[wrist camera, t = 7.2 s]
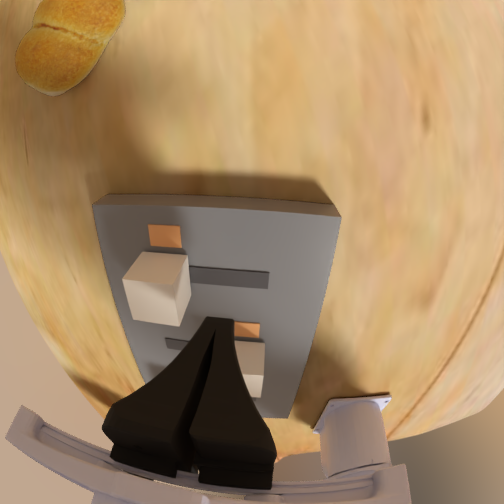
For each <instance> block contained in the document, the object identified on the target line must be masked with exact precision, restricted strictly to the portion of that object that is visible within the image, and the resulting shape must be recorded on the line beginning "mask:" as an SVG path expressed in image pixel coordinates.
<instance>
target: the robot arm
mask: <svg viewBox="0 0 504 504" xmlns="http://www.w3.org/2000/svg"><path fill="white" fill-rule="evenodd" d="M391 399H392V397H391V395H383V396H373V397H360V398H344V399H331V400H329V402H328V404H327V405H326V407H325V409H324V411H323V413H322V415H321V416H320V418H319V420H318V422H317V424H316V425H315V427H314V429H313V433H315V434H316V433H320V446H321V464H322V470H323V473H324V474H325V476H326V477H327V478H326V479H323V480H319V481H301V482H300V481H296V482H275V481H274V482H273V481H272V475H273V469H274V467H273V466H274V462H275V459H276V457H277V451H276V447H275V443H274V441H273V438H272V435H271V433H270V430H269V428H268V427H267V425H266V423H265V422H264V420H263V419H262V417H261V415H260V413H259V412H258V410H257V408H256V406H255V404H254V402H253V400H252V398H251V395H250V393H249V391H248V389H247V386H246V384H245V381H244V378H243V375H242V372H241V369H240V365H239V362H238V358H237V353H236V348H235V321H234V320H233V319H230V318H220V317H210V316H207V317H205V319H204V320H203V322H202V324H201V325H200V327H199V328H198V330H197V331H196V333H195V334H194V335H193V337H192V338H191V339H190V341H189V342H188V343H187V345H186V346H185V347H184V348H183V349H182V351H181V352H180V353H179V354H178V355H177V356H176V357H175V358H174V360H173V361H172V362H171V363H170V364H169V365H168V366H167V367H166V368H164V369H163V370H162V371H161V372H160V373H159V374H158V375H157V376H155V377H154V378H153V379H152V380H150V381H149V382H148V383H147V384H145V385H144V386H142V387H141V388H139V389H138V390H136V391H135V392H133V393H132V394H130V395H129V396H127V397H125V398H123V399H121V400H119V401H118V402H116V403H114V404H113V405H112V406H111V408H110V410H109V411H108V413H107V415H106V418H105V420H104V423H103V425H102V430H103V432H104V433H105V435H106V436H107V437H108V438H109V439H110V440H111V441H112V442H113V443H114V445H113V448H112V451H109V450H106V449H103V448H101V447H98V446H96V445H93V444H91V443H88V442H86V441H83V440H81V439H79V438H77V437H74V436H72V435H70V434H68V433H66V432H64V431H62V430H59V429H58V428H56V427H53V426H52V425H50V424H48V423H46V422H44V420H43V419H42V418H41V417H40V416H39V415H38V414H36V413H35V412H33V411H31V410H30V409H28V408H26V407H24V406H21V407H20V409H19V411H18V413H17V415H16V416H15V419H14V421H13V422H12V425H11V426H10V428H9V431H8V433H7V435H6V437H5V438H6V439H7V440H8V441H9V442H10V443H12V444H13V445H14V446H16V447H17V448H18V449H19V450H21V451H22V452H23V453H25V454H26V455H27V456H29V457H30V458H32V459H33V460H35V461H36V462H38V463H40V464H41V465H43V466H45V467H46V468H48V469H50V470H51V471H53V472H55V473H57V474H58V475H60V476H62V477H64V478H66V479H67V480H70V481H71V482H73V483H75V484H77V485H79V486H81V487H83V488H86V489H87V490H90V491H92V492H94V496H93V499H92V503H91V504H412V503H411V496H410V489H409V482H408V476H407V470H406V465H405V464H401V465H396V466H392V465H391V461H390V455H389V449H388V444H387V438H386V433H385V428H384V423H383V419H382V414H381V411H382V410H383V409H384V408H385V406H386V405H387V404H388V403H389V401H390V400H391ZM123 470H124V471H123ZM198 470H199V474H198ZM125 471H127V472H130V473H133V474H136V475H140V476H143V477H147V478H150V479H154V480H158V481H162V482H166V483H170V484H174V485H179V486H184V487H188V488H194V489H200V490H206V491H212V492H220V493H228V494H238V495H246V496H245V497H244V500H242V499H234V498H228V497H221V496H216V495H210V494H205V493H200V492H196V491H192V490H189V489H184V488H180V487H176V486H170V485H167V484H163V483H159V482H155V481H151V480H148V479H144V478H141V477H138V476H134V475H131V474H128V473H127V472H125Z"/></svg>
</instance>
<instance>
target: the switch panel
mask: <svg viewBox="0 0 504 504" xmlns="http://www.w3.org/2000/svg"><path fill="white" fill-rule="evenodd" d="M92 207H93V213H94V218H95V224H96V229H97V234H98V238H99V243H100V247H101V252H102V256H103V260H104V264H105V268H106V272H107V276H108V279H109V283H110V287H111V290H112V293H113V297H114V300H115V303H116V307H117V310H118V313H119V316H120V319H121V322H122V325H123V328H124V331H125V334H126V336H127V339H128V342H129V345H130V347H131V350H132V352H133V355H134V358H135V360H136V363H137V365H138V368H139V370H140V372H141V375H142V377H143V379H144V382H145V384H147V383H148V382H149V381H150V380H152V379H153V378H154V377H155V376H157V375H158V374H159V373H160V372H161V371H162V370H163V369H164V368H166V367H167V366H168V365H169V364H170V363H171V362H172V361H173V360H174V358H175V357H176V356H177V355H178V354H179V353H180V352H181V351H182V349H183V348H184V347H185V346H186V345H187V343H188V342H189V341H190V339H191V338H192V337H193V335H194V334H195V333H196V331H197V330H198V328H199V327H200V325H201V324H202V322H203V320H204V319H205V317H207V316H210V317H220V318H230V319H233V320H234V321H235V341H246V342H259V343H265V358H264V377H263V384H262V391H261V398H259V397H251V398H252V400H253V402H254V404H255V406H256V408H257V410H258V412H259V413H260V415H261V417H263V418H288V417H289V414H290V411H291V408H292V405H293V403H294V400H295V397H296V394H297V391H298V388H299V385H300V381H301V378H302V375H303V372H304V369H305V366H306V362H307V359H308V356H309V352H310V349H311V345H312V342H313V338H314V335H315V331H316V327H317V324H318V320H319V316H320V312H321V309H322V305H323V301H324V297H325V293H326V288H327V284H328V280H329V276H330V271H331V267H332V262H333V258H334V253H335V248H336V243H337V238H338V233H339V228H340V223H341V216H340V214H339V212H338V210H337V208H336V207H335V205H332V204H322V203H311V202H300V201H289V200H276V199H262V198H246V197H228V196H205V195H172V194H107V195H106V196H104V197H103V198H101V199H100V200H98V201H97V202H95V203H94V204H92ZM142 252H154V253H167V254H180V255H188V264H189V275H190V286H191V297H190V300H189V302H188V305H187V308H186V310H185V313H184V316H183V318H182V321H181V324H180V327H179V326H171V325H164V324H158V323H151V322H145V321H139V320H133V317H132V314H131V311H130V307H129V304H128V300H127V296H126V293H125V289H124V285H123V281H122V278H123V277H124V276H125V274H126V273H127V271H128V270H129V269H130V267H131V266H132V265H133V263H134V262H135V261H136V259H137V258H138V257H139V255H140V254H141V253H142Z"/></svg>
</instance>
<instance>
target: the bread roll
mask: <svg viewBox="0 0 504 504" xmlns="http://www.w3.org/2000/svg"><path fill="white" fill-rule="evenodd" d="M125 12H126V10H125V2H124V0H43V1H42V2H41V3H40V4H39V6H38V8H37V10H36V12H35V15H34V19H33V26H32V29H31V30H30V31H29V32H28V33H27V34H26V35H25V36H24V37H23V39H22V40H21V42H20V44H19V46H18V48H17V51H16V54H15V63H16V70H17V72H18V74H19V75H20V77H21V78H22V79H23V80H24V81H25V84H28V85H29V86H30V87H32V88H34V89H36V90H37V91H39V92H41V93H43V94H46V95H49V96H59V95H61V94H63V93H64V92H66V91H67V90H69V89H71V88H73V87H74V86H76V85H77V84H79V83H80V82H81V81H82V80H83V79H84V78H85V77H86V76H87V75H88V74H89V73H90V72H91V71H92V69H93V68H94V66H95V65H96V63H97V62H98V60H99V58H100V57H101V55H102V53H103V51H104V50H105V48H106V46H107V44H108V42H109V41H110V40H111V38H112V37H113V36H114V34H115V33H116V31H117V29H118V28H119V26H120V24H121V23H122V21H123V19H124V17H125Z"/></svg>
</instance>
